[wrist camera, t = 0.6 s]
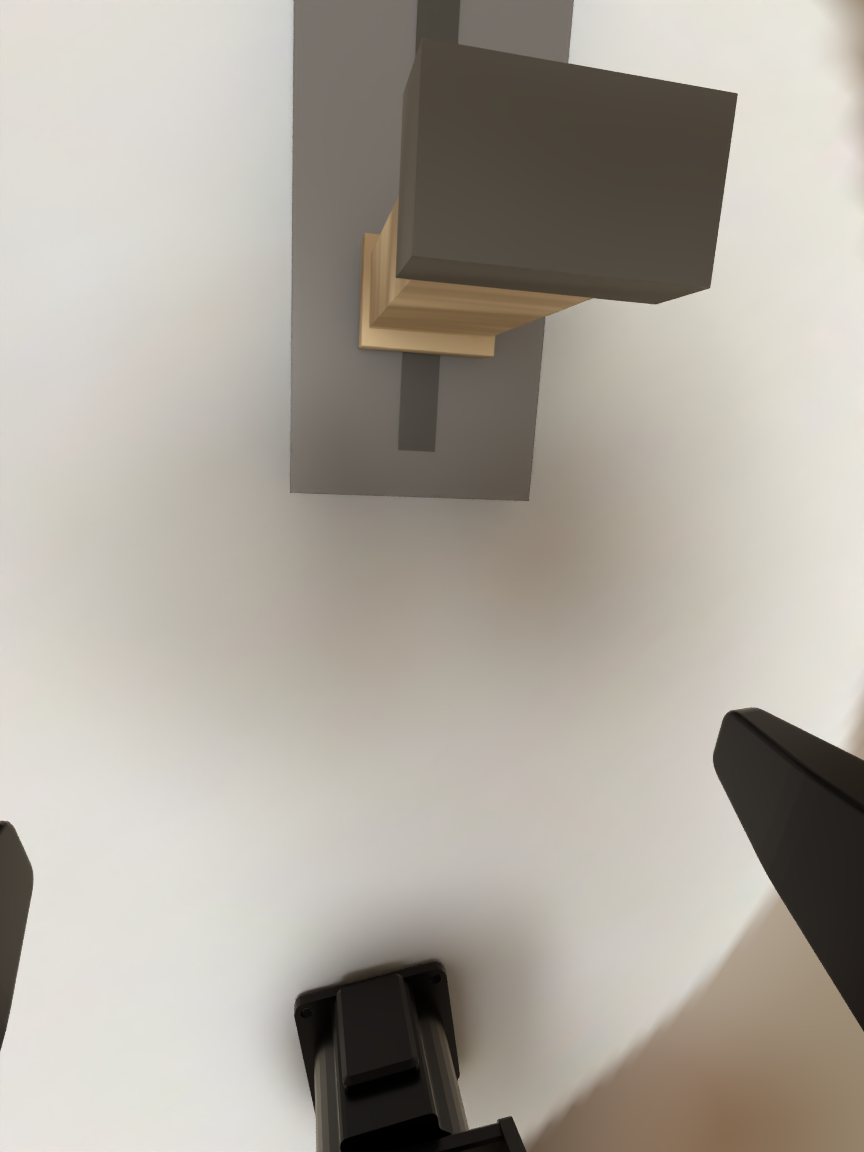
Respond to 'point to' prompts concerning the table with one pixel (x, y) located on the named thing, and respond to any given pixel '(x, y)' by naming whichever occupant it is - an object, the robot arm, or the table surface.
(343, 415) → the fader console
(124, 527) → the table surface
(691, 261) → the fader lever
